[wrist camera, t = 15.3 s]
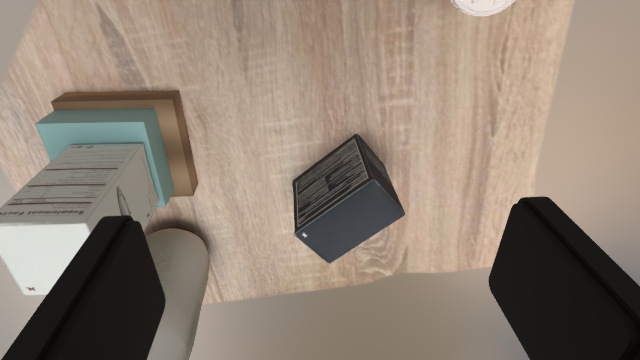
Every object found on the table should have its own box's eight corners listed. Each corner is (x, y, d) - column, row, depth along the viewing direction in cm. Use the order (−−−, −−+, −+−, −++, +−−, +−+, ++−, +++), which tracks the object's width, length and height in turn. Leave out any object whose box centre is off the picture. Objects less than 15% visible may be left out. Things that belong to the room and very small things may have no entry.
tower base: (68, 90, 41) (51, 102, 38) (180, 88, 41) (172, 99, 38) (102, 183, 47) (89, 199, 44) (199, 180, 48) (193, 195, 45)
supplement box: (161, 201, 41) (116, 294, 30) (90, 203, 40) (19, 298, 30) (145, 140, 37) (86, 223, 26) (66, 141, 36) (-26, 226, 26)
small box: (322, 211, 51) (329, 268, 42) (290, 181, 48) (290, 234, 39) (387, 166, 48) (408, 217, 39) (356, 131, 45) (372, 177, 36)
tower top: (55, 110, 38) (34, 123, 35) (155, 108, 39) (143, 121, 36) (86, 191, 43) (71, 209, 40) (174, 189, 44) (165, 206, 41)
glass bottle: (161, 274, 55) (61, 524, 31) (128, 221, 49) (-23, 474, 26) (226, 261, 54) (175, 506, 31) (200, 206, 49) (113, 451, 25)
